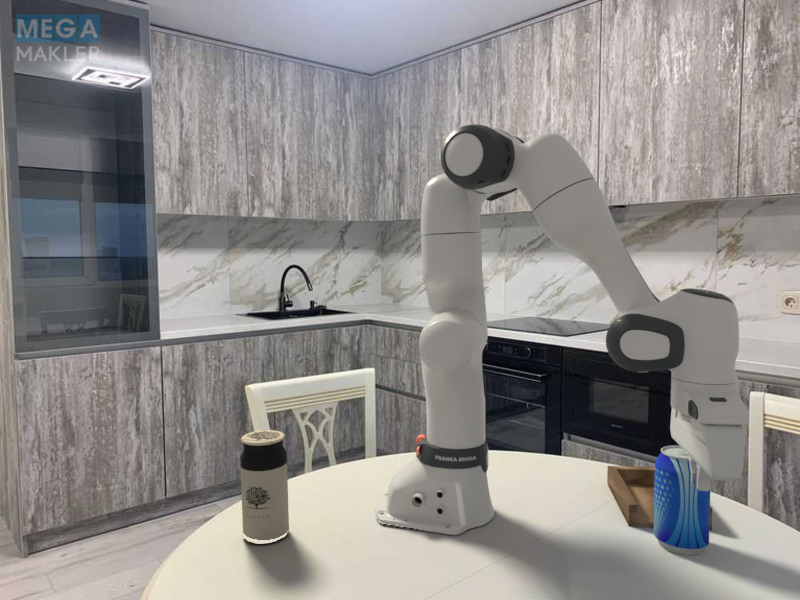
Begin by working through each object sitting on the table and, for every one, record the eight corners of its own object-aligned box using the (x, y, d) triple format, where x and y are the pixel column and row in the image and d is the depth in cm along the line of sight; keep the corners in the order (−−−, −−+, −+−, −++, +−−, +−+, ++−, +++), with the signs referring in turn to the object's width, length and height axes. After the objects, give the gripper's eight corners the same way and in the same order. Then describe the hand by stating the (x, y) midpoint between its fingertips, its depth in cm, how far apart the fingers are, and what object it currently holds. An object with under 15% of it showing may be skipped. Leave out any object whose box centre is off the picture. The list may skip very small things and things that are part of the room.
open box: (628, 526, 106) (629, 504, 106) (607, 484, 126) (607, 465, 125) (711, 530, 104) (712, 508, 104) (677, 487, 124) (677, 468, 123)
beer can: (715, 559, 95) (718, 461, 93) (659, 555, 96) (661, 459, 95) (700, 534, 103) (702, 444, 102) (648, 531, 104) (650, 442, 103)
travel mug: (261, 522, 110) (257, 427, 109) (297, 529, 107) (294, 432, 106) (233, 541, 103) (229, 440, 102) (272, 549, 100) (268, 445, 99)
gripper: (661, 382, 99) (659, 462, 100) (704, 415, 79) (701, 515, 80) (701, 382, 98) (699, 463, 99) (755, 416, 78) (751, 517, 79)
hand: (700, 487), depth 90 cm, fingers closed
